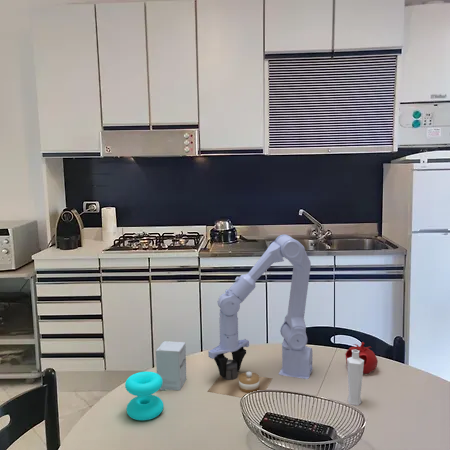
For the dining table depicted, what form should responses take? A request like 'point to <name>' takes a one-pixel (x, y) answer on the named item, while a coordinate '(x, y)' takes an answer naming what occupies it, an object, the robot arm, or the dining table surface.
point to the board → (235, 386)
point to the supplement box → (171, 364)
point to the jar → (248, 382)
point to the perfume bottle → (355, 377)
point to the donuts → (144, 395)
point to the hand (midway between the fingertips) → (229, 373)
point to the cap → (231, 370)
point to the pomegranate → (364, 357)
